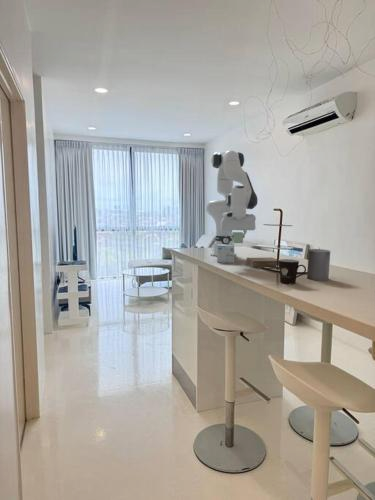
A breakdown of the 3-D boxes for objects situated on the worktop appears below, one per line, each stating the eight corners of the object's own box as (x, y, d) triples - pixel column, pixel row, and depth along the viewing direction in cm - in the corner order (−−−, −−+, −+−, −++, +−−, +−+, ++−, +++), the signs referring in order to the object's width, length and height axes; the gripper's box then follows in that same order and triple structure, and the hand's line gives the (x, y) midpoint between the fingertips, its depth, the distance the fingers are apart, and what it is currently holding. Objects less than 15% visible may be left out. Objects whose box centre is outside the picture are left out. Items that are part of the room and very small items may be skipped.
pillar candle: (303, 276, 166) (305, 246, 164) (322, 276, 167) (324, 246, 165) (312, 281, 157) (314, 248, 155) (332, 280, 157) (334, 248, 156)
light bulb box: (233, 261, 215) (234, 244, 214) (234, 262, 209) (234, 245, 208) (216, 260, 217) (217, 244, 215) (216, 262, 210) (217, 245, 209)
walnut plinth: (246, 264, 203) (246, 257, 203) (272, 264, 205) (272, 257, 205) (253, 268, 189) (254, 261, 189) (281, 267, 192) (281, 260, 191)
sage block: (232, 242, 199) (232, 232, 198) (240, 242, 200) (240, 232, 199) (234, 243, 194) (234, 232, 193) (242, 243, 195) (243, 232, 194)
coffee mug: (273, 281, 154) (274, 259, 153) (289, 280, 157) (290, 258, 156) (290, 286, 144) (291, 263, 142) (306, 285, 147) (307, 262, 145)
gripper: (253, 214, 199) (253, 237, 201) (219, 213, 197) (219, 237, 198) (257, 214, 193) (256, 238, 195) (222, 214, 190) (221, 238, 192)
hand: (237, 238), depth 197 cm, fingers closed on sage block, 5 cm apart
